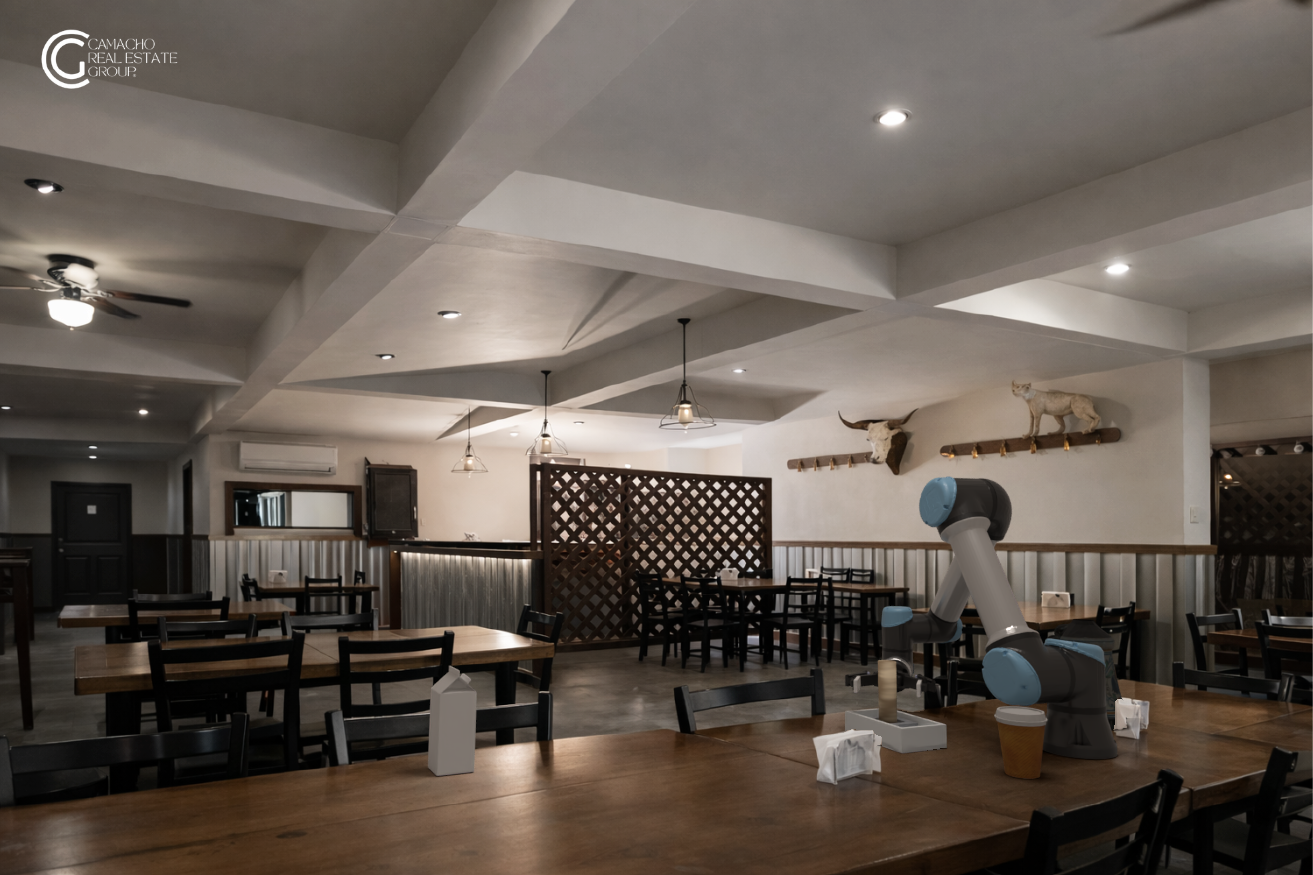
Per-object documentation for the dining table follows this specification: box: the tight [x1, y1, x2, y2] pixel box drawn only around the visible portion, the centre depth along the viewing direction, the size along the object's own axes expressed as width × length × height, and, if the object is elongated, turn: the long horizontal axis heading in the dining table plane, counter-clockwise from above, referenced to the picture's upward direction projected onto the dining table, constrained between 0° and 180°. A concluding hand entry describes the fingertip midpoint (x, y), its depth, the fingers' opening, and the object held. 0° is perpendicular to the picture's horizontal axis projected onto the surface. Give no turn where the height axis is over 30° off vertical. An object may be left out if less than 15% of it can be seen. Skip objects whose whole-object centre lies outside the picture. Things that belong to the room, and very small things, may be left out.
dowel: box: [877, 659, 898, 723], centre depth 204 cm, size 4×4×16 cm
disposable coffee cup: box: [994, 705, 1047, 780], centre depth 174 cm, size 10×10×12 cm
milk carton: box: [427, 665, 478, 777], centre depth 173 cm, size 7×7×19 cm
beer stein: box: [1043, 618, 1123, 731], centre depth 224 cm, size 16×19×25 cm
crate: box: [844, 707, 948, 754], centre depth 201 cm, size 20×12×5 cm, turn 24°
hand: (886, 688), depth 201 cm, fingers open, 13 cm apart
